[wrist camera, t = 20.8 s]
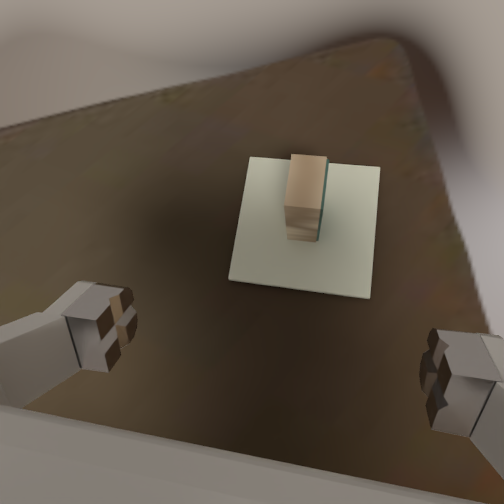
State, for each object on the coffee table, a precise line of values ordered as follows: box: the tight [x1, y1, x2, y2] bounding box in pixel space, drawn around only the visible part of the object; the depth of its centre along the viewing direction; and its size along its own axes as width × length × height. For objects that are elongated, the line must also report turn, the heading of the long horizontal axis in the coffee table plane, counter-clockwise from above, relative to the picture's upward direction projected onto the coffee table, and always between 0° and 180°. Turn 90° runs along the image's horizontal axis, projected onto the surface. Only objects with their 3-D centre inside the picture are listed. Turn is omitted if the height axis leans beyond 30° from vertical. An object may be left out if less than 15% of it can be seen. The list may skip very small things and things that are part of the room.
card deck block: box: [284, 154, 329, 242], centre depth 30 cm, size 3×4×8 cm
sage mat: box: [228, 157, 380, 299], centre depth 33 cm, size 12×12×1 cm
